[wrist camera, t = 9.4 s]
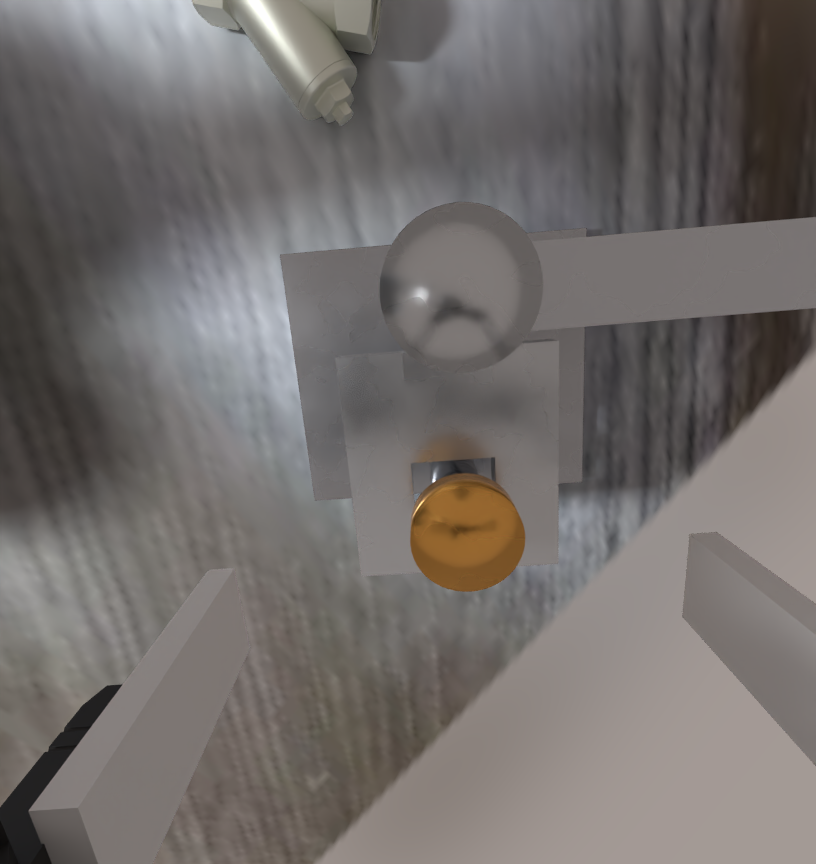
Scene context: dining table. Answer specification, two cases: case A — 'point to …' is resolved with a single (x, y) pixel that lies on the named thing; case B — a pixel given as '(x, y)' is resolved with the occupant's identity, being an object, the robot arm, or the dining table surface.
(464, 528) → the gold knobbed rod
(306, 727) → the dining table surface
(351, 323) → the grey lever mechanism
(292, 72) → the pipe fitting
